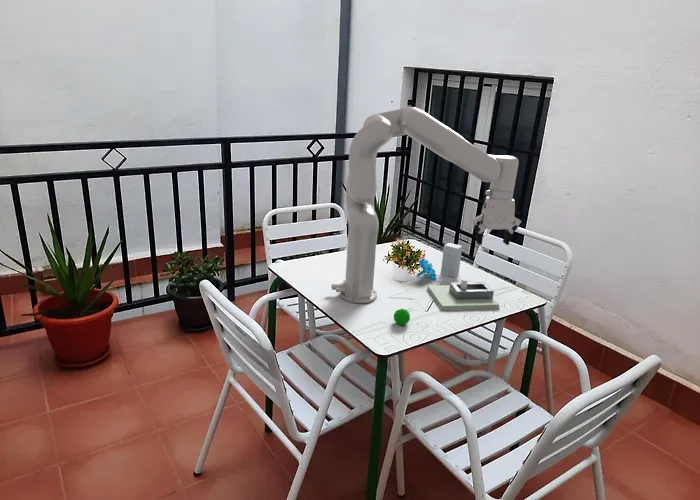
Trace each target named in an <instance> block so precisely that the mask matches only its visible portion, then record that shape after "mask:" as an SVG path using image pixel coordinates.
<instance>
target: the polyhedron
mask: <svg viewBox="0 0 700 500" xmlns="http://www.w3.org/2000/svg"><path fill="white" fill-rule="evenodd" d="M410 319H411V315H410V312H409V311H408V310H407V309H404V308H400V309H397V310H395V312H394V313H393V320H394V322H395V324H397V325H400V326H403V325H406V324H408V323H409V321H410Z"/></svg>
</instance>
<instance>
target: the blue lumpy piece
mask: <svg viewBox="0 0 700 500" xmlns="http://www.w3.org/2000/svg"><path fill="white" fill-rule="evenodd" d="M423 258H424V259H422V260H420V261H419V260H418V261H419V262H418V263H419V267H420V268H421V269H422V270H421V271H420V272H418V273H417V274H416V276H417V277H420V276H421V275H424V274H426V276H427V278H428V279H429V278H430V280H431V281H436V280H437V274H436V270H435V269H434V268H433V264H432V263H431V262H429V260H428V259H425V257H423Z"/></svg>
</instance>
